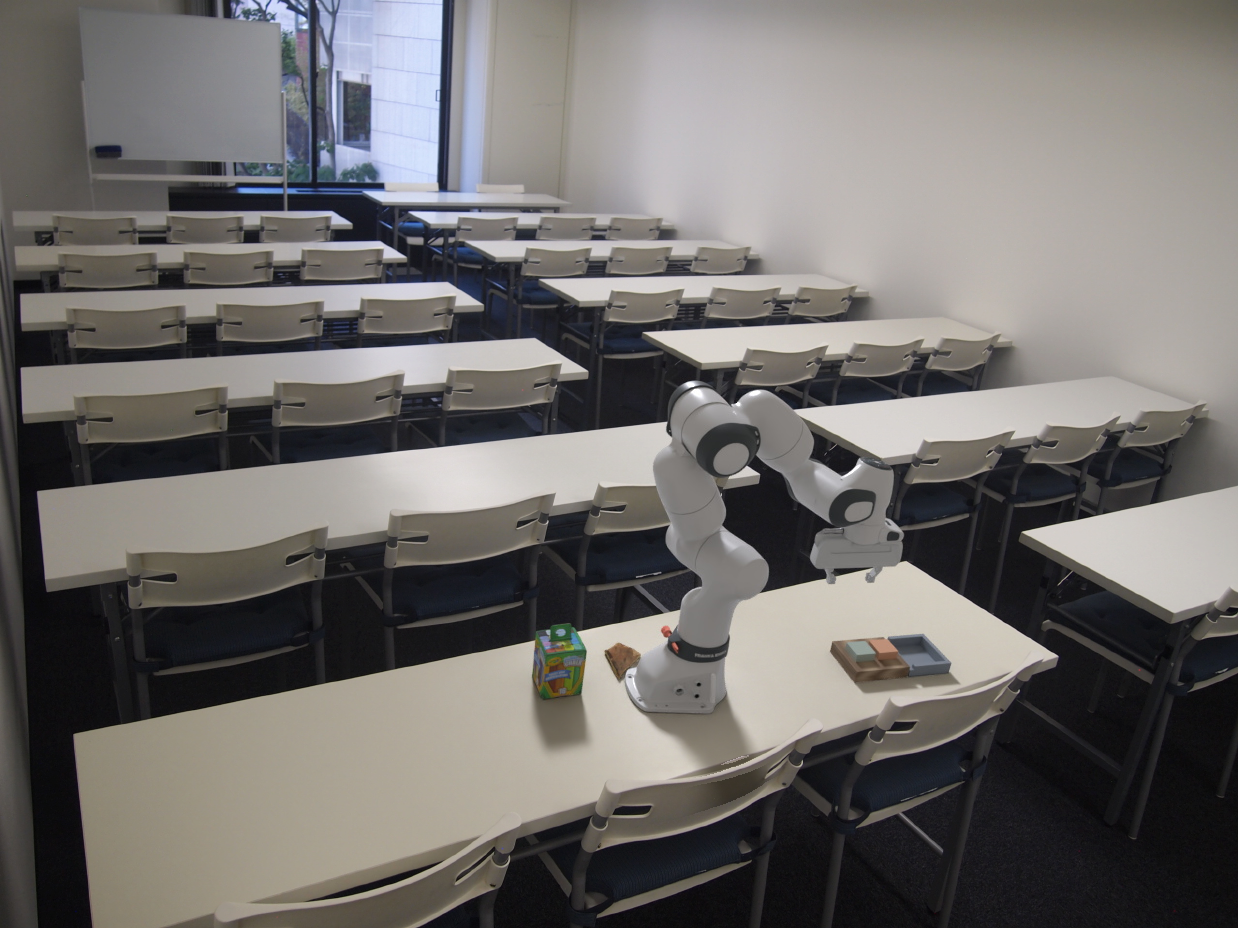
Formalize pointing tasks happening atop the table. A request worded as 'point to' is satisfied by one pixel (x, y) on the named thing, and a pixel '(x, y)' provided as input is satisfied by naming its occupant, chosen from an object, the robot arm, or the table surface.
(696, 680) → the robot arm
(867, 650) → the sage tile
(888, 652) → the terracotta tile
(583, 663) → the chalk box
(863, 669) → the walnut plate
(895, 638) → the tray
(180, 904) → the table surface
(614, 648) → the shard
